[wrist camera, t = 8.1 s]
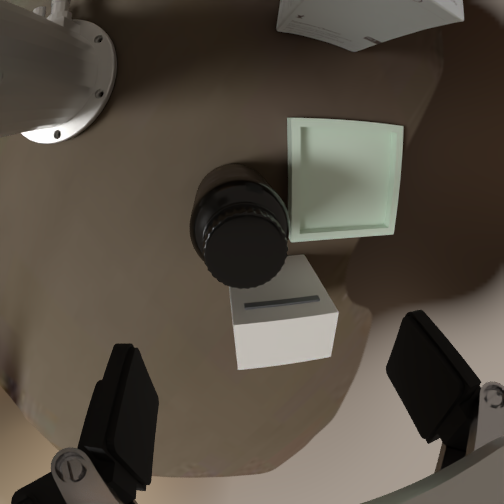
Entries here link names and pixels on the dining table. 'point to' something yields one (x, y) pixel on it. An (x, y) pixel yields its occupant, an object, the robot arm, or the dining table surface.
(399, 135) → the tray
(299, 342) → the unit
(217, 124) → the dining table surface
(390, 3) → the skincare box
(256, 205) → the supplement bottle
